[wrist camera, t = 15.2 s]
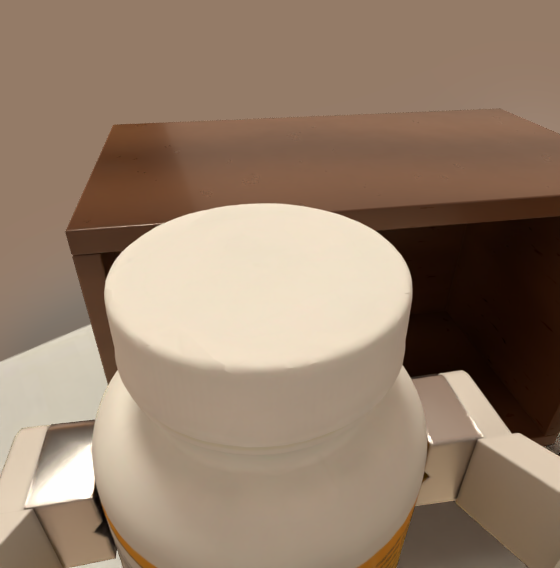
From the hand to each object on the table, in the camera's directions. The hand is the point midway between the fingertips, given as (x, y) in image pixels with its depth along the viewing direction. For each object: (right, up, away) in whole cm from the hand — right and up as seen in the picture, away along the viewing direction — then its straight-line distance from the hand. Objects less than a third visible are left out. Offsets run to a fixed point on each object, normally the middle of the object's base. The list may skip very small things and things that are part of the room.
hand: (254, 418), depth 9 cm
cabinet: (+4, -5, +24) cm, 25 cm away
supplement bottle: (0, -5, +2) cm, 6 cm away
